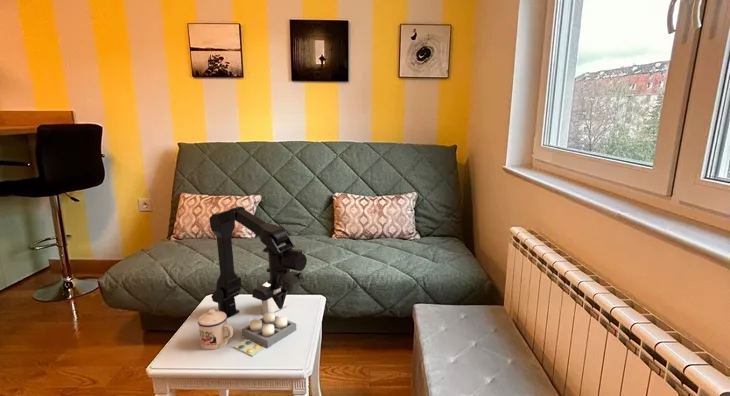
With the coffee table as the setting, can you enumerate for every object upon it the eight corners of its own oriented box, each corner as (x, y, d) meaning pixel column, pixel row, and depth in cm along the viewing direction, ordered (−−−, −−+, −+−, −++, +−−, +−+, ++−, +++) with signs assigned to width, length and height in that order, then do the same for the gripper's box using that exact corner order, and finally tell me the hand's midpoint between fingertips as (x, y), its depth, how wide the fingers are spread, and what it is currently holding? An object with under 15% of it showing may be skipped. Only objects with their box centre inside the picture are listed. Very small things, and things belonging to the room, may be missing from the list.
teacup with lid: (193, 347, 131) (190, 314, 129) (212, 333, 140) (209, 302, 137) (224, 354, 127) (221, 320, 125) (242, 339, 136) (239, 307, 133)
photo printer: (267, 316, 151) (265, 285, 148) (260, 313, 153) (258, 282, 151) (289, 306, 158) (287, 276, 156) (281, 303, 161) (280, 274, 158)
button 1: (247, 329, 138) (247, 322, 137) (256, 324, 141) (256, 318, 140) (255, 333, 135) (255, 326, 135) (264, 328, 139) (264, 321, 138)
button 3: (261, 322, 142) (260, 315, 142) (269, 317, 146) (269, 311, 145) (269, 325, 140) (268, 318, 140) (277, 320, 143) (277, 313, 143)
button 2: (259, 335, 134) (259, 327, 134) (268, 329, 137) (268, 322, 137) (268, 338, 132) (267, 331, 131) (277, 333, 135) (276, 326, 135)
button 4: (273, 327, 139) (272, 320, 139) (281, 322, 142) (281, 315, 142) (281, 330, 137) (281, 323, 136) (289, 325, 140) (289, 318, 140)
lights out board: (227, 344, 133) (226, 337, 132) (270, 319, 148) (270, 313, 148) (253, 357, 126) (253, 349, 125) (296, 329, 141) (296, 323, 140)
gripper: (273, 280, 123) (276, 327, 126) (314, 261, 138) (316, 303, 141) (249, 272, 129) (252, 317, 132) (290, 255, 144) (293, 296, 148)
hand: (280, 308), depth 138 cm, fingers closed
